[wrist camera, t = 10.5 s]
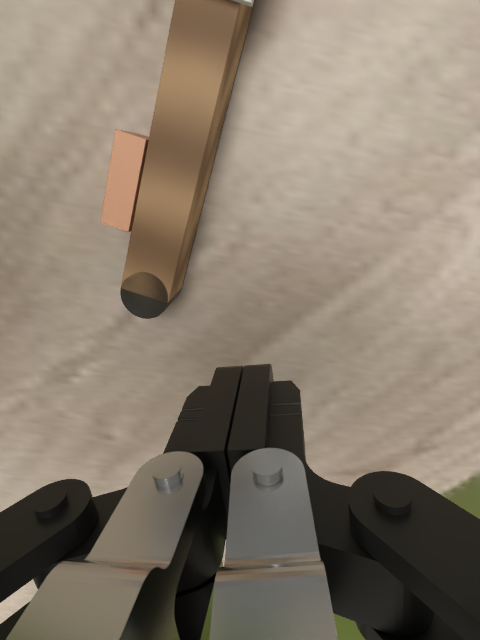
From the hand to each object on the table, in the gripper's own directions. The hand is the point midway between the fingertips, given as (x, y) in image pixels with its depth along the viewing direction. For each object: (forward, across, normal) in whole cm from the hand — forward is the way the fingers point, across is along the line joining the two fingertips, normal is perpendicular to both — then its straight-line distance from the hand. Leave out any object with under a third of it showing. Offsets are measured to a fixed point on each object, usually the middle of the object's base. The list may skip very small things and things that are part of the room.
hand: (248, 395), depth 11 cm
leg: (+20, +5, -8) cm, 22 cm away
